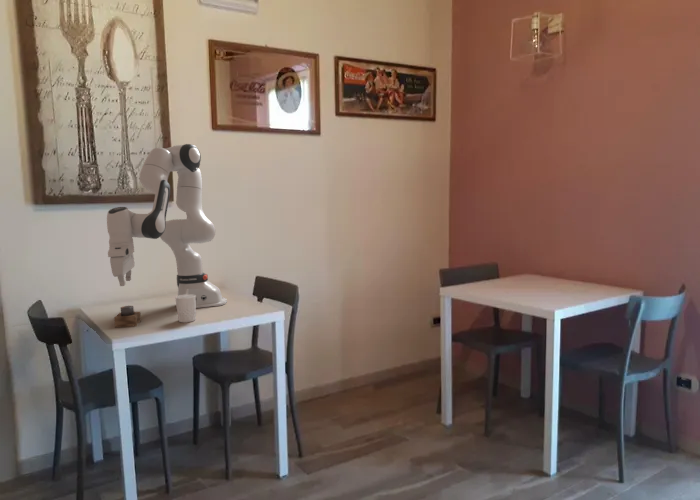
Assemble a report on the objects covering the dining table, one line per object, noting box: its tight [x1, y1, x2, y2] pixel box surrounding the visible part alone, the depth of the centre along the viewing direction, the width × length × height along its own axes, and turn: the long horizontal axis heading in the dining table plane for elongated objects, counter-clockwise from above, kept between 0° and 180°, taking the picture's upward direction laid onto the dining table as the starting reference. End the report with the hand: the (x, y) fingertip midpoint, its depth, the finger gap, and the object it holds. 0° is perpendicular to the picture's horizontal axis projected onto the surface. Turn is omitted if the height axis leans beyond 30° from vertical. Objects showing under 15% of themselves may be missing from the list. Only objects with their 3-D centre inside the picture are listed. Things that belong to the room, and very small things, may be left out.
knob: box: [120, 305, 135, 316], centre depth 226 cm, size 5×5×6 cm
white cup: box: [175, 294, 197, 323], centre depth 229 cm, size 8×8×10 cm
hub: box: [113, 311, 142, 328], centre depth 227 cm, size 8×8×4 cm
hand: (125, 283), depth 225 cm, fingers open, 8 cm apart
